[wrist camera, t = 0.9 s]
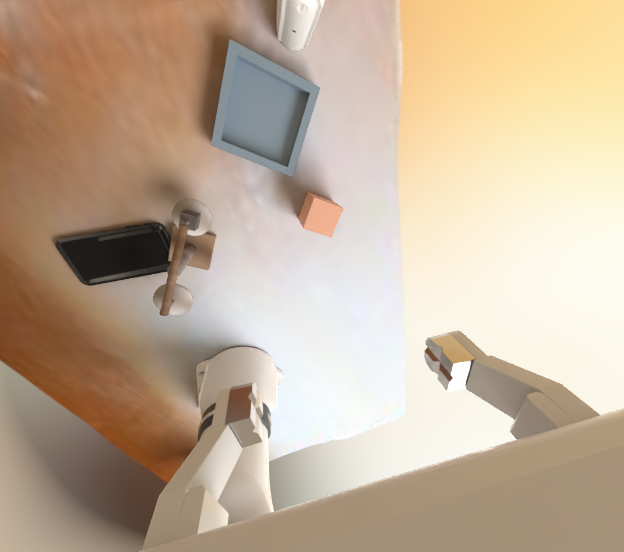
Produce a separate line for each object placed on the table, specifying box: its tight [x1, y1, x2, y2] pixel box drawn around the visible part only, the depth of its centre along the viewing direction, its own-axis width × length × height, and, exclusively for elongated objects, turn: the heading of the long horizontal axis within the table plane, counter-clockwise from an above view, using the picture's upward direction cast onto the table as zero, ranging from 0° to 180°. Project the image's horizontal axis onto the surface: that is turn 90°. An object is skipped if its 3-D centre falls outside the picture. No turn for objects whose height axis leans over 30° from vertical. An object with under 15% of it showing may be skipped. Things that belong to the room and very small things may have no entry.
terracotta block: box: [298, 192, 343, 237], centre depth 36 cm, size 4×4×6 cm
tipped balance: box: [153, 199, 216, 316], centre depth 33 cm, size 17×6×11 cm, turn 159°
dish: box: [211, 39, 320, 177], centre depth 30 cm, size 11×11×2 cm
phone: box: [55, 223, 171, 286], centre depth 36 cm, size 8×1×15 cm
